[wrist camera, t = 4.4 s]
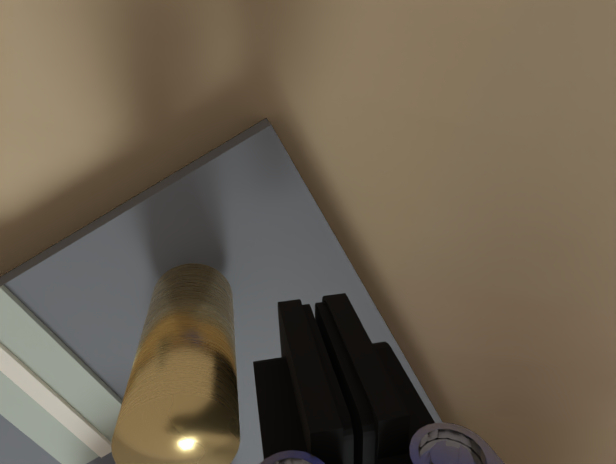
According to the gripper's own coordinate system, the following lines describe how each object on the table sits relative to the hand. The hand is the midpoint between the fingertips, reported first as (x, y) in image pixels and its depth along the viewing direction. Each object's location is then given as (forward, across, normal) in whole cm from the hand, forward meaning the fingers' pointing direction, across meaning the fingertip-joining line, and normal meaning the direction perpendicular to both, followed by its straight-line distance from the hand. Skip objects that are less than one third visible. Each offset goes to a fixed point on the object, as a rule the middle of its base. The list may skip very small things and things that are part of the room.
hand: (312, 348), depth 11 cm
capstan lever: (+4, +4, +6) cm, 8 cm away
